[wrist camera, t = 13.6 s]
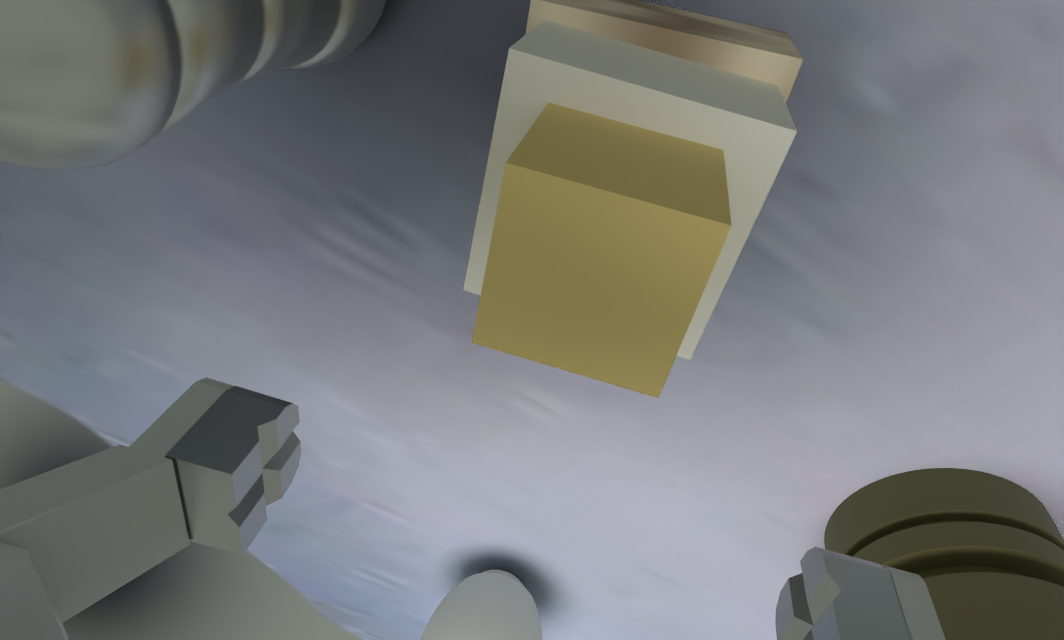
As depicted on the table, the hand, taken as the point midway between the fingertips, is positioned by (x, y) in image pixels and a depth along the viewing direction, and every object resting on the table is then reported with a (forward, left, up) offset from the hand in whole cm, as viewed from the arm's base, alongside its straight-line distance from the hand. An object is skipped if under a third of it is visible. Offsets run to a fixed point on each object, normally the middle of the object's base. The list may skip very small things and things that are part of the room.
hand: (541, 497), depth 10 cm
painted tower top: (0, 0, -16) cm, 16 cm away
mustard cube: (0, 0, -11) cm, 11 cm away
